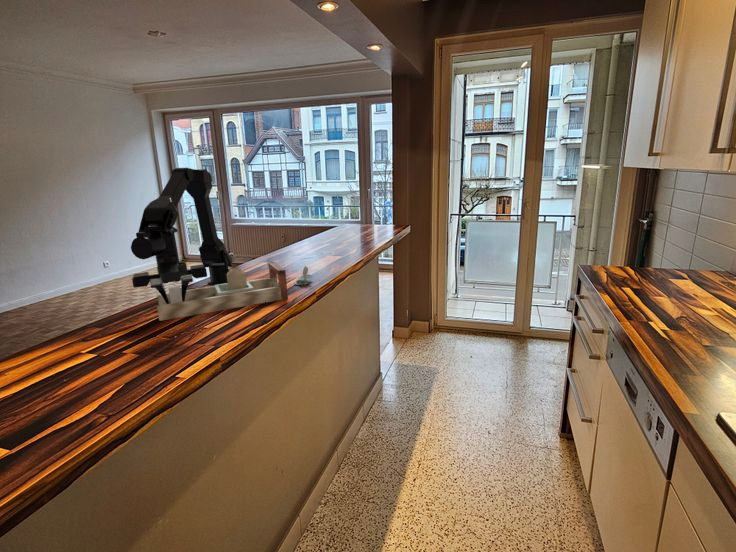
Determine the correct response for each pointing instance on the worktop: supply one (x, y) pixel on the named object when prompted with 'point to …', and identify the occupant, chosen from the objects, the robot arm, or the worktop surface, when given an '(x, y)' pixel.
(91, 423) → the worktop surface
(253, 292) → the channel
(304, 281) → the pacifier
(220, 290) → the square frame with handle
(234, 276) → the candle
